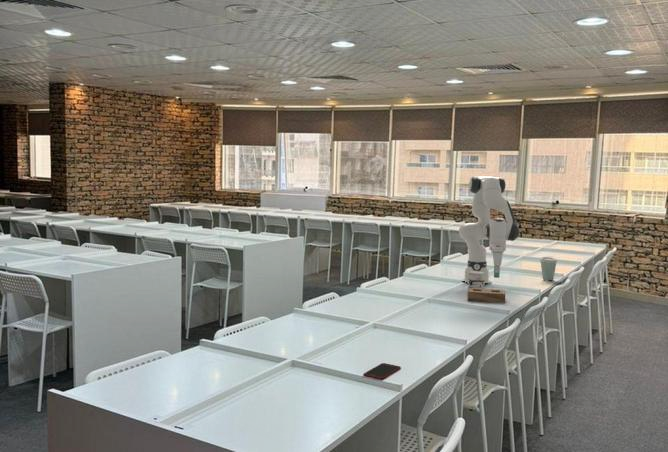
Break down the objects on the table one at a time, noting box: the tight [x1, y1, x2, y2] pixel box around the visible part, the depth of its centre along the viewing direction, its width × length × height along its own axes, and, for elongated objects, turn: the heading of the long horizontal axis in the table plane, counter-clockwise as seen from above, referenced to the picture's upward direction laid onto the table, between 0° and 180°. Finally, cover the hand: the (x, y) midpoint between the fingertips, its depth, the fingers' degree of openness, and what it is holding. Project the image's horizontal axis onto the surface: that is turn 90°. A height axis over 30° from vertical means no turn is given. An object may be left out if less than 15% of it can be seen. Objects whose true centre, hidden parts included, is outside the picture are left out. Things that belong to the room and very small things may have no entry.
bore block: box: [467, 287, 506, 304], centre depth 319 cm, size 12×20×5 cm, turn 75°
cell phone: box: [363, 362, 402, 381], centre depth 200 cm, size 8×15×1 cm, turn 147°
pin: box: [493, 265, 501, 279], centre depth 316 cm, size 3×3×8 cm
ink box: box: [467, 271, 485, 289], centre depth 341 cm, size 8×5×12 cm, turn 62°
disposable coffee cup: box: [540, 256, 558, 281], centre depth 380 cm, size 11×11×15 cm
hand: (496, 271), depth 316 cm, fingers closed on pin, 3 cm apart
